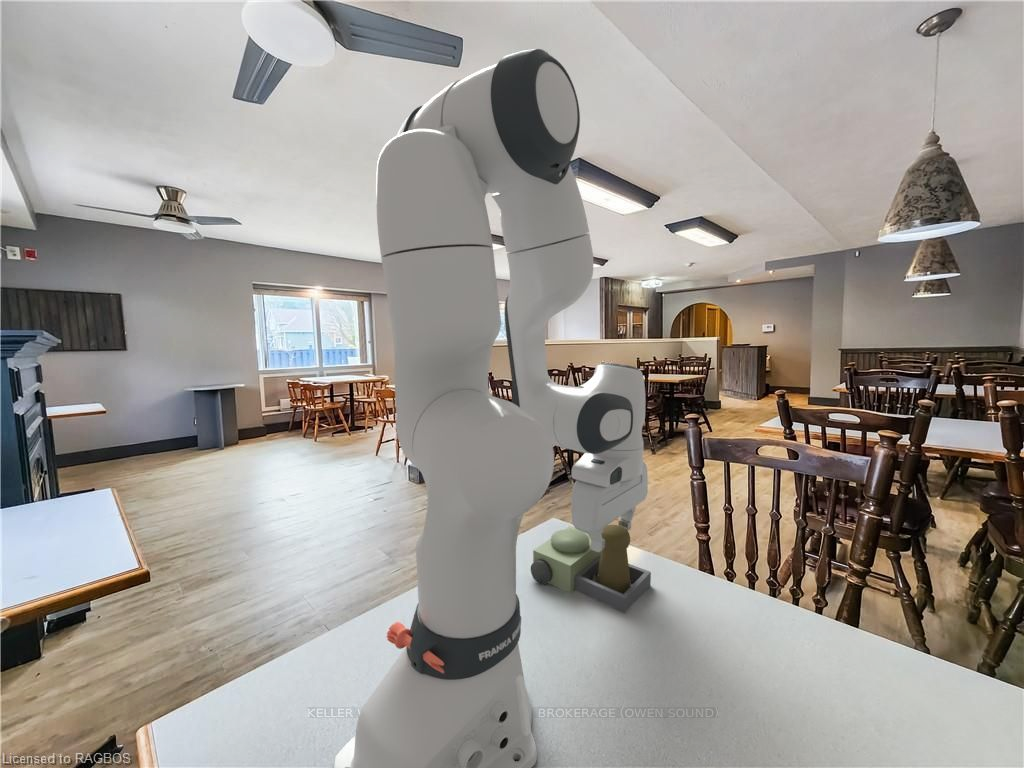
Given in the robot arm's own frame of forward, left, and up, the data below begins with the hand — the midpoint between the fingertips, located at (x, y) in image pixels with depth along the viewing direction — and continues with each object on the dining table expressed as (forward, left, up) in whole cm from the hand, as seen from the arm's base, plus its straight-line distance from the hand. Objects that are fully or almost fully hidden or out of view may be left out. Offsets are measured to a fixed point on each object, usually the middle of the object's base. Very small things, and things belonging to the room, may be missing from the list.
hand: (611, 539), depth 73 cm
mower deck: (+1, +4, -9) cm, 10 cm away
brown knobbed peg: (+1, 0, -10) cm, 9 cm away
